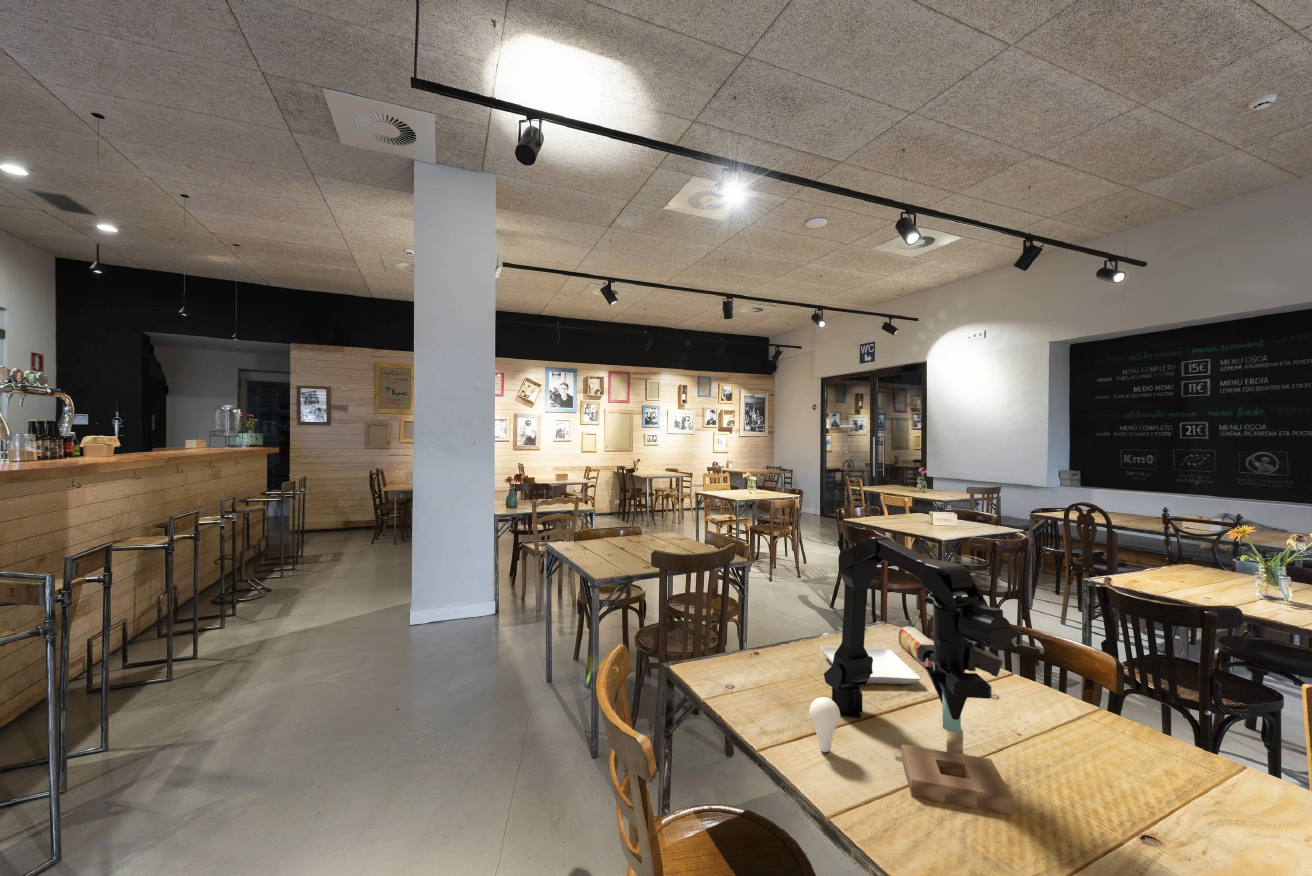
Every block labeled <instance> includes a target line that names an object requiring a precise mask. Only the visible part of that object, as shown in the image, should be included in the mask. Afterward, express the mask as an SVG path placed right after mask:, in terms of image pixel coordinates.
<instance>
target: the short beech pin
mask: <svg viewBox="0 0 1312 876" xmlns="http://www.w3.org/2000/svg"><path fill="white" fill-rule="evenodd" d="M946 752H951V753H957V754H963V755H964V729H962V728H961V732H958V733H954V732H950V731H947V730H946Z"/></svg>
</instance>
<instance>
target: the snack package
mask: <svg viewBox="0 0 1312 876" xmlns="http://www.w3.org/2000/svg"><path fill="white" fill-rule="evenodd" d="M897 642H898V643H899V645H900V647H902V648H903V649H904V650H905V651H907V653H908V654H910V655H911V656H912V657H913V658H914V659H915V660H916V661H918V663H919V664H921V666H922V667H924V668H925V667H930V661H929V660H928V658H926V661H925V662H921V661H920V660H919V659H918V658H917V648H918V647H919V646H920V645H934V641H933V640H932V639H931V638H930V639H929V637H927V636H926V635H924V634H923V633H922V632H921V630H919V629H918V628H916V627H913V626H904V627H901V628H900V629H899V631H898V641H897Z"/></svg>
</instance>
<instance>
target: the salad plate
mask: <svg viewBox="0 0 1312 876" xmlns="http://www.w3.org/2000/svg"><path fill="white" fill-rule="evenodd" d="M838 648H839V646H820V651H821V652H822V653H823V655H825V657H826V659H828V661H829V662H830V663H831V664H832V665H833V659H834V654H835V652H836V651H837V649H838ZM864 648H865V650H866V652H867V654H868V655H869V656H871V657H872V658H873V663H872V671H873V674H871V675H870V678H869V679H868V681H867V684H869V683H888V684H887V685H909V684H914V683H917V682H919V681H920V680H921V677H920V676H919V674H918V673H916V672H915V671H914V670H913V669H912V668H911V667H910V666H908V664H907V663H906V662H904V661H903V660H902V659H901V658H900V656H898V654H896V653H895V652H893V651H892V650H891V649H890V648H883V647H882V648H881V647H880V648H879V647H864Z"/></svg>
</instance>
